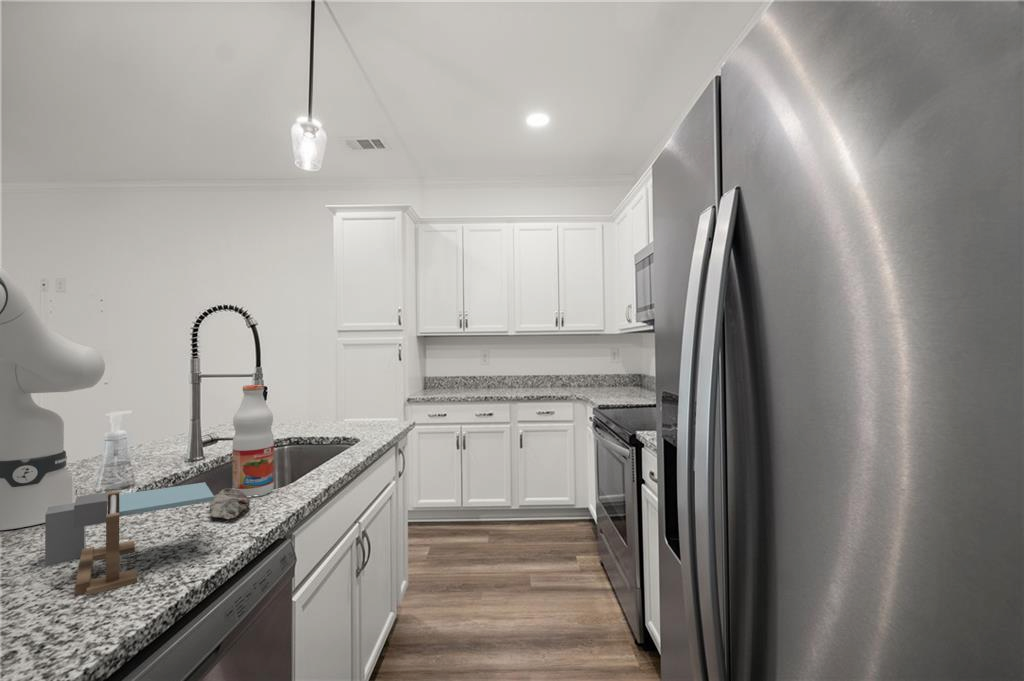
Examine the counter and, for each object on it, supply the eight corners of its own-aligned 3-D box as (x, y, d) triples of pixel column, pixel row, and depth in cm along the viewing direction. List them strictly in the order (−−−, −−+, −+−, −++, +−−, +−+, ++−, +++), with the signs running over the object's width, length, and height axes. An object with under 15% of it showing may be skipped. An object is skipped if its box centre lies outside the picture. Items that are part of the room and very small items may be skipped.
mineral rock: (240, 523, 100) (240, 502, 100) (198, 527, 98) (198, 506, 98) (258, 501, 114) (258, 483, 114) (222, 504, 112) (222, 486, 112)
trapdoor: (77, 512, 82) (78, 491, 82) (204, 492, 94) (204, 474, 94) (71, 534, 72) (72, 511, 72) (214, 509, 84) (214, 489, 84)
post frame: (82, 555, 84) (82, 495, 84) (134, 544, 89) (134, 487, 89) (74, 598, 70) (75, 525, 70) (137, 582, 74) (137, 513, 74)
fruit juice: (256, 486, 126) (256, 383, 127) (282, 489, 123) (281, 384, 123) (223, 496, 118) (223, 386, 118) (249, 500, 114) (249, 387, 115)
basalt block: (48, 556, 84) (48, 507, 84) (85, 548, 87) (85, 500, 87) (45, 566, 80) (45, 514, 80) (84, 557, 84) (84, 507, 84)
